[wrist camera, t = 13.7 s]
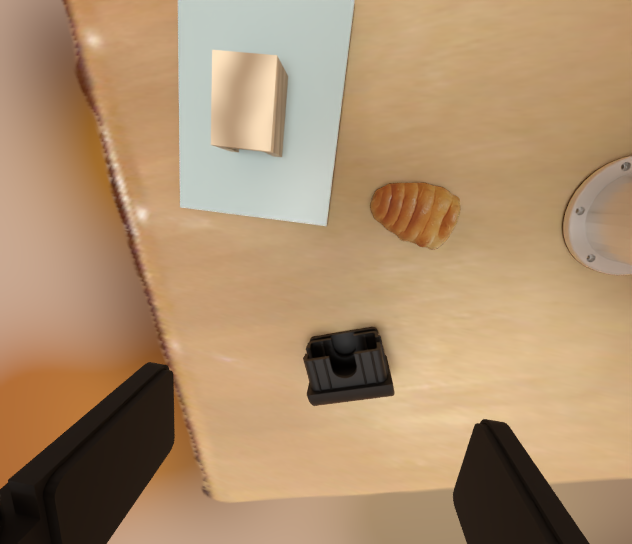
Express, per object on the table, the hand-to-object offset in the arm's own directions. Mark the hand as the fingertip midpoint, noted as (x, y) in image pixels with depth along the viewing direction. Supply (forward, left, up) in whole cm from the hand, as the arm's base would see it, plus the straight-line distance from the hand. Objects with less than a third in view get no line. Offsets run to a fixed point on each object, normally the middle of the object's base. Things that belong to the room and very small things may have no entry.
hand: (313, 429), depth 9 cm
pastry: (-8, -5, -29) cm, 30 cm away
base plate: (+11, -14, -28) cm, 33 cm away
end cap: (-3, +14, -29) cm, 32 cm away
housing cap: (+11, -14, -27) cm, 33 cm away
